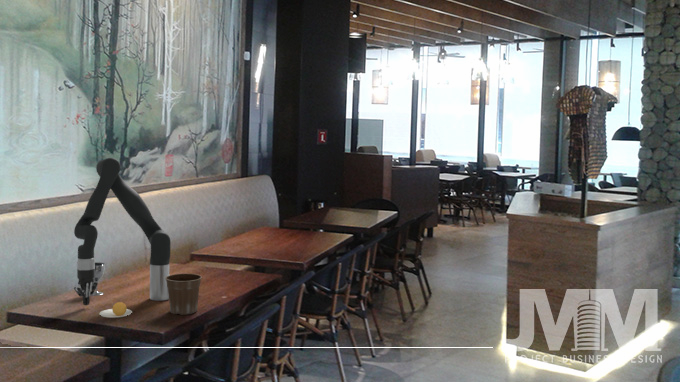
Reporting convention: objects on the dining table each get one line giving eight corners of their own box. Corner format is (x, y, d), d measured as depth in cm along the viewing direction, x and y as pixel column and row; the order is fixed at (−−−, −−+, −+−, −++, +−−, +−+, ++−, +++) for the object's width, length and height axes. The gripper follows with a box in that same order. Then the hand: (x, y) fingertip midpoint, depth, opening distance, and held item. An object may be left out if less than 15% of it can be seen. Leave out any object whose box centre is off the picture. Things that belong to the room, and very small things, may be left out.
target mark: (132, 308, 324) (132, 307, 324) (131, 316, 310) (131, 316, 310) (100, 309, 320) (100, 309, 320) (98, 318, 307) (98, 317, 307)
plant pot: (158, 310, 321) (158, 276, 320) (188, 305, 333) (189, 271, 331) (177, 318, 310) (177, 282, 308) (208, 312, 321) (208, 277, 319)
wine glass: (108, 293, 349) (108, 263, 348) (95, 296, 342) (95, 266, 341) (97, 291, 353) (97, 261, 352) (84, 294, 346) (84, 264, 345)
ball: (121, 307, 317) (131, 306, 314) (115, 318, 313) (125, 318, 310) (113, 299, 313) (123, 299, 310) (107, 311, 309) (117, 310, 306)
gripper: (90, 264, 327) (90, 300, 329) (68, 269, 315) (69, 307, 317) (102, 266, 325) (102, 302, 326) (81, 271, 312) (81, 309, 314)
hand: (86, 304), depth 322 cm, fingers closed
